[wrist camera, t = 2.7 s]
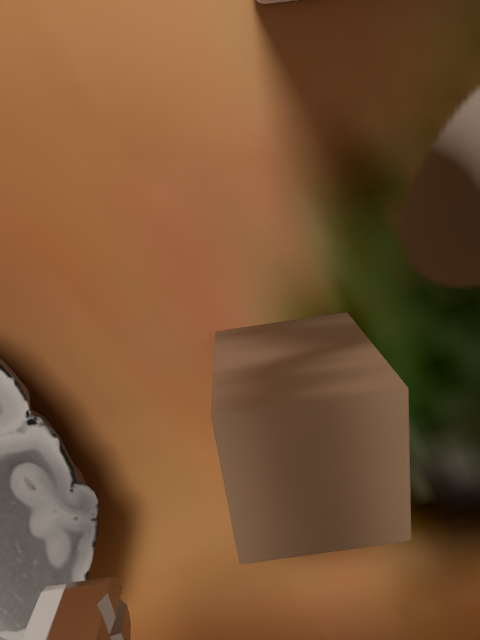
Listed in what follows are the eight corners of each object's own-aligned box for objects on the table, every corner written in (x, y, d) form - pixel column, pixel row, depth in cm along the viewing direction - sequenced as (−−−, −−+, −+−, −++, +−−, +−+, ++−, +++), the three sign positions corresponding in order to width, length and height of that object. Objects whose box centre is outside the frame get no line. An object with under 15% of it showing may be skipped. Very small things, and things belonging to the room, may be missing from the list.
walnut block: (346, 312, 17) (408, 388, 11) (354, 424, 19) (411, 541, 13) (215, 331, 17) (211, 416, 11) (234, 442, 19) (239, 564, 13)
